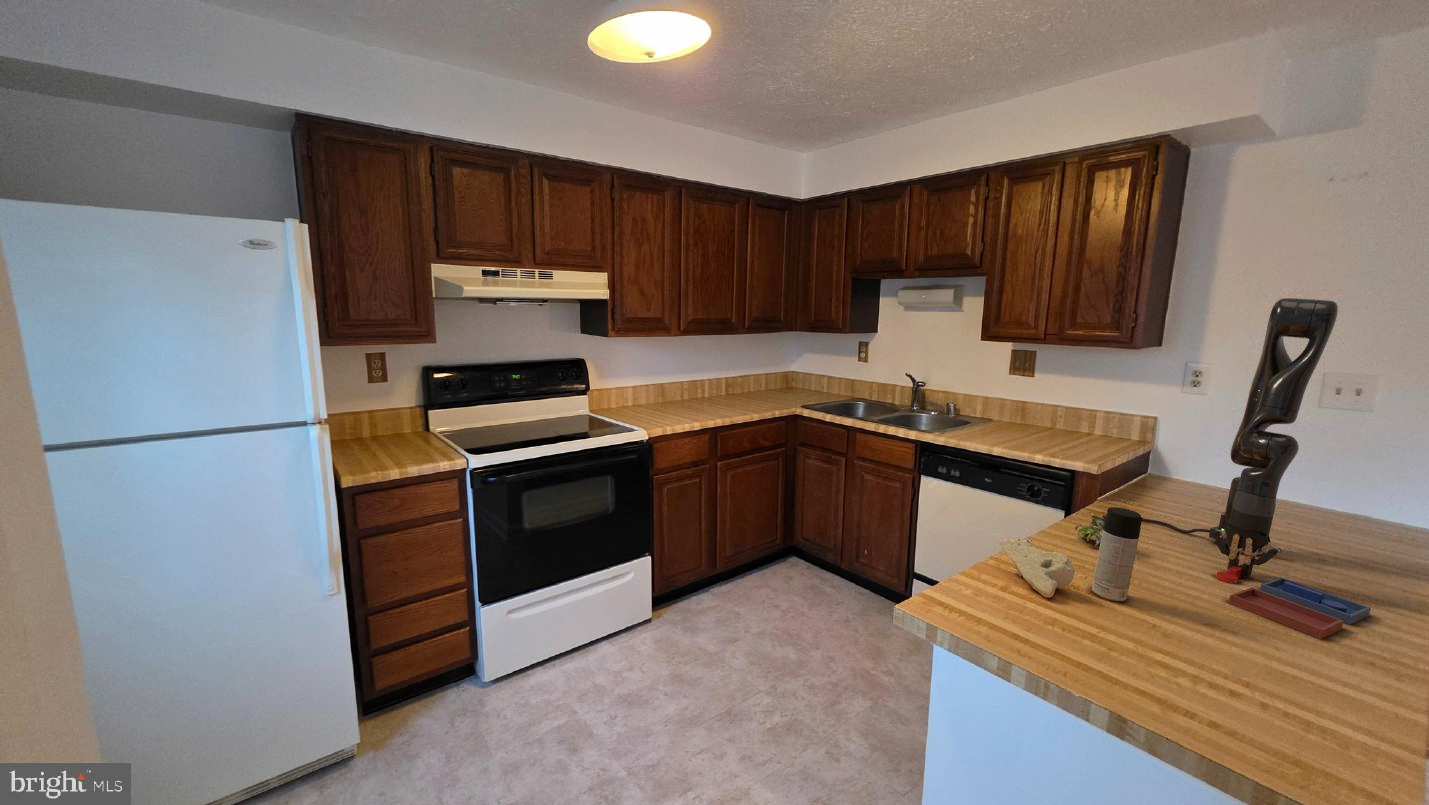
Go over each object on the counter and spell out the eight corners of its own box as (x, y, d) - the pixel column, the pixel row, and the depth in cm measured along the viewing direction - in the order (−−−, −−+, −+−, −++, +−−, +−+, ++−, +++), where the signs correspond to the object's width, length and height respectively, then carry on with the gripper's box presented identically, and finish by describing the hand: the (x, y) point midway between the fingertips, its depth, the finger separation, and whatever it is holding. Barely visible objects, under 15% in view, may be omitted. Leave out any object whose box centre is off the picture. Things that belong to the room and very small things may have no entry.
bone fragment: (1080, 612, 124) (1078, 552, 133) (1072, 595, 120) (1070, 534, 129) (1005, 607, 133) (1007, 551, 142) (996, 591, 130) (999, 535, 139)
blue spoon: (1349, 611, 126) (1351, 601, 126) (1341, 614, 124) (1344, 604, 124) (1286, 589, 135) (1288, 580, 135) (1279, 592, 134) (1281, 583, 133)
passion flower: (1110, 564, 158) (1147, 541, 151) (1087, 562, 154) (1124, 538, 147) (1084, 530, 166) (1118, 506, 159) (1061, 527, 162) (1095, 502, 154)
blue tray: (1259, 591, 134) (1261, 584, 134) (1278, 584, 139) (1280, 577, 139) (1350, 625, 121) (1352, 616, 121) (1368, 616, 125) (1371, 607, 125)
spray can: (1123, 592, 130) (1138, 510, 127) (1130, 605, 124) (1147, 519, 121) (1089, 585, 133) (1103, 504, 129) (1094, 597, 127) (1110, 513, 123)
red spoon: (1232, 584, 137) (1234, 575, 137) (1212, 577, 141) (1214, 568, 141) (1252, 578, 142) (1255, 569, 142) (1233, 571, 146) (1235, 562, 145)
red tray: (1228, 603, 128) (1230, 594, 127) (1249, 595, 132) (1251, 587, 132) (1321, 639, 114) (1323, 630, 114) (1341, 629, 119) (1343, 620, 119)
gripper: (1296, 518, 135) (1280, 585, 138) (1226, 499, 148) (1212, 561, 150) (1282, 521, 132) (1266, 590, 135) (1211, 502, 144) (1198, 565, 147)
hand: (1238, 575), depth 143 cm, fingers closed on red spoon
